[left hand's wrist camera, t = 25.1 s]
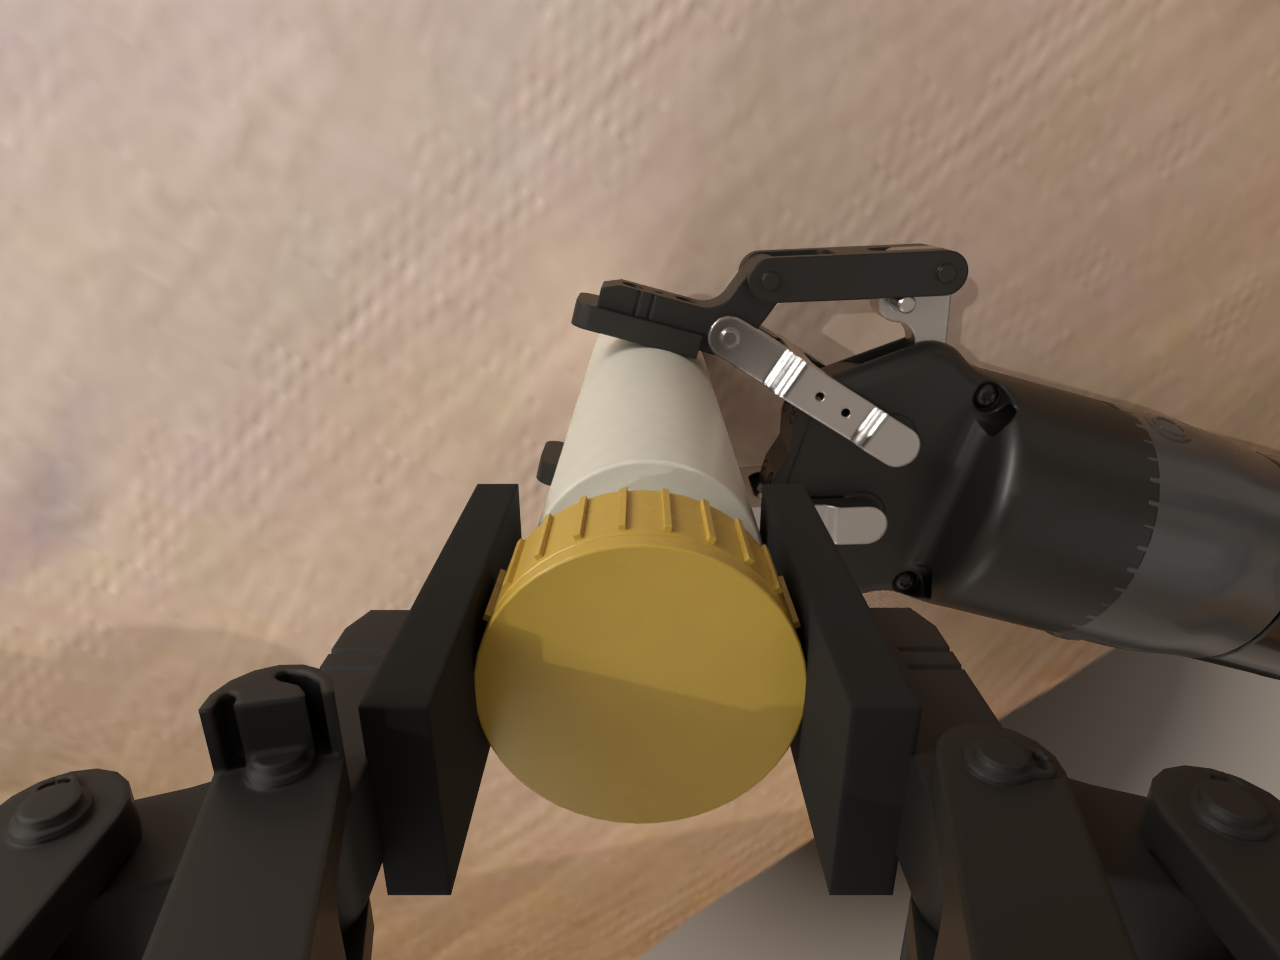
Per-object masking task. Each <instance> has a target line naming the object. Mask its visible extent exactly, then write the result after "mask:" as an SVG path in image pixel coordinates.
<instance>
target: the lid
mask: <svg viewBox="0 0 1280 960" xmlns="http://www.w3.org/2000/svg"><path fill="white" fill-rule="evenodd" d="M483 620H485V621H488V623H487V626H486V628H485V631H484V634H483V637H482V640H481V643H480V646H479V649H478V652H477V656H476V661H475V667H474V682H475V694H476V705H477V713H478V717H479V720H480V724H481V727H482V729H483V731H484V733H485V735H486V737H487V740H488V742H489V744H490V745H491V747H492V748H493V750H494V751H495V753H496V754H497V756H498V757H499V759H500V760H501V761H502V762H503V763H504V765H505V766H506V767H507V768H508V769H509V770H510V772H511V773H512V774H513V775H515V776H516V777H517V778H518V779H519V780H520V781H521V782H522V783H524V784H525V785H526V786H527V787H529V788H530V789H531V790H533V791H534V792H536V793H537V794H539V795H540V796H542V797H543V798H545V799H547V800H549V801H551V802H553V803H555V804H556V805H558V806H561V807H563V808H566V809H568V810H570V811H573V812H575V813H578V814H582V815H585V816H589V817H592V818H596V819H601V820H607V821H613V822H622V823H636V824H638V823H660V822H667V821H675V820H680V819H684V818H688V817H692V816H696V815H699V814H702V813H705V812H708V811H711V810H713V809H716V808H718V807H720V806H722V805H724V804H726V803H728V802H730V801H732V800H734V799H736V798H737V797H739V796H740V795H742V794H744V793H745V792H747V791H748V790H750V789H751V788H752V787H753V786H755V785H756V784H757V783H758V782H760V781H761V780H762V779H763V778H764V777H765V776H766V775H767V774H768V773H769V772H770V771H771V770H772V769H773V768H774V767H775V766H776V765H777V764H778V762H779V761H780V760H781V758H782V757H783V756H784V754H785V753H786V751H787V750H788V748H789V747H790V745H791V743H792V741H793V739H794V737H795V735H796V734H797V731H798V728H799V725H800V723H801V720H802V717H803V710H804V701H805V689H806V677H807V668H806V660H805V657H804V653H803V649H802V646H801V642H800V639H799V636H798V633H797V631H796V628H799V627H801V624H800V622H799V619H798V616H797V613H796V611H795V608H794V605H793V602H792V599H791V597H790V594H789V591H788V588H787V586H786V583H785V580H784V577H783V576H779V577H778V575H777V572H776V569H775V566H774V563H773V561H772V558H771V555H770V552H769V549H768V547H767V546H766V545H765V544H764V545H762V546H760V545H759V544H758V542H757V541H756V540H755V539H754V538H753V537H752V535H751V534H750V533H749V532H748V531H746V530H745V528H744V525H743V522H742V521H741V520H740V519H739V518H736V519H735V520H733V519H732V518H730V517H729V516H727V515H726V514H724V513H723V512H721V511H720V510H718V509H716V508H714V507H712V506H710V505H709V501H708V500H705V499H703V498H702V500H701V501H698V500H695V499H692V498H689V497H686V496H683V495H678V494H673V493H669V489H665V488H662V490H661V491H651V490H629V491H628V490H627V487H623V488H620V491H619V492H613V493H607V494H602V495H599V496H595V497H592V498H587V496H583V497H580V500H579V502H578V503H576V504H573V505H571V506H569V507H567V508H565V509H563V510H562V511H560V512H558V513H557V514H555V515H553V516H552V515H551V514H550V513H549V514H548V515H546V516H545V517H544V521H543V524H541V525H540V526H539V527H537V528H536V529H535V530H534V531H533V532H532V533H531V534H530V535H529V536H528V538H527V539H526V540H525V541H524V540H523V539H520V540H519V541H518V542H517V544H516V547H515V550H514V553H513V556H512V559H511V561H510V563H509V565H508V567H507V569H506V571H505V570H503V569H501V570H500V572H499V574H498V577H497V580H496V583H495V585H494V588H493V591H492V594H491V597H490V599H489V602H488V605H487V608H486V610H485V613H484V616H483Z"/></svg>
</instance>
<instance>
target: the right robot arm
mask: <svg viewBox="0 0 1280 960" xmlns="http://www.w3.org/2000/svg"><path fill="white" fill-rule="evenodd" d="M967 275H968V265H967V262H966V260H965V258H964V257H963V256H962V255H961V254H959V253H958V252H955V251H951V250H947V249H944V248H940V247H935V246H930V245H925V244H899V245H875V246H852V247H829V248H806V249H782V250H759V251H754V252H751V253H749V254H748V255H746V256H745V257H744V258H743V260H742V261H741V264H740V266H739V272H738V273H737V274H736V276H735V277H734V278H733V280H732V281H731V283H730V284H729V285H728V287H727V288H726V289H725V291H724V292H723V293H722V294H721V295H719V296H718V297H716V298H714V299H711V300H705V301H702V300H696V299H692V298H689V297H685V296H681V295H678V294H674V293H670V292H667V291H663V290H659V289H656V288H652V287H648V286H645V285H640V284H637V283H634V282H630V281H626V280H623V279H620V280H612V281H604V282H603V285H602V287H601V291H600V295H599V296H598V295H594V294H590V293H580V294H579V296H578V298H577V300H576V304H575V309H574V313H573V317H572V322H571V323H572V324H573V325H575V326H577V327H579V328H582V329H585V330H589V331H593V332H596V333H600V334H604V335H608V336H612V337H615V338H619V339H623V340H627V341H630V342H634V343H638V344H642V345H645V346H649V347H653V348H657V349H662V350H666V351H670V352H672V353H676V354H679V355H683V356H687V357H691V358H694V359H697V355H698V352H699V351H703V352H706V353H710V354H714V355H717V356H719V357H720V358H722V359H724V360H725V361H727V362H728V363H730V364H732V365H733V366H735V367H737V368H738V369H740V370H741V371H743V372H745V373H746V374H748V375H749V376H751V377H753V378H754V379H756V380H758V381H759V382H761V383H762V384H764V385H765V386H767V387H768V388H769V389H770V390H771V391H773V392H774V393H775V394H776V395H778V396H779V397H781V398H782V399H784V400H785V401H784V403H783V406H782V409H781V424H780V434H779V436H778V437H777V439H776V440H775V442H774V443H773V445H772V446H771V448H770V449H769V451H768V452H767V454H766V456H765V459H764V462H763V465H762V467H739V469H740V473H741V476H742V479H743V482H744V485H745V488H746V491H747V494H748V498H749V501H750V504H751V507H752V510H753V513H754V516H755V519H756V523H757V526H758V529H759V531H760V514H761V498H762V484H803V485H804V487H805V489H806V491H807V493H808V494H809V496H810V498H811V500H812V502H813V504H814V506H815V507H816V509H817V511H818V513H819V515H820V517H821V519H822V521H823V522H824V524H825V526H826V528H827V530H828V532H829V534H830V535H831V537H832V539H833V541H834V543H835V545H836V547H837V549H838V550H839V552H840V554H841V556H842V558H843V560H844V562H845V563H846V565H847V567H848V569H849V571H850V573H851V575H852V577H853V578H854V580H855V582H856V584H857V586H858V588H859V590H860V591H861V593H866V592H870V591H877V590H891V591H896V592H899V593H902V594H905V595H907V596H910V597H913V598H916V599H918V600H921V601H925V602H928V603H932V604H936V605H940V606H944V607H948V608H953V609H957V610H961V611H965V612H969V613H973V614H978V615H982V616H986V617H990V618H994V619H998V620H1002V621H1007V622H1010V623H1014V624H1018V625H1022V626H1027V627H1031V628H1035V629H1039V630H1043V631H1045V632H1047V633H1049V634H1051V635H1054V636H1057V637H1060V638H1063V639H1067V640H1071V639H1072V640H1085V641H1089V642H1093V643H1097V644H1101V645H1105V646H1110V647H1115V648H1120V649H1126V650H1132V651H1140V652H1151V653H1164V654H1172V655H1179V656H1184V657H1189V658H1194V659H1198V660H1202V661H1206V662H1210V663H1214V664H1218V665H1222V666H1226V667H1230V668H1234V669H1238V670H1243V671H1247V672H1251V673H1255V674H1258V675H1261V676H1265V677H1269V678H1273V679H1278V680H1280V458H1277V457H1274V456H1270V455H1266V454H1263V453H1259V452H1254V451H1251V450H1249V449H1245V448H1242V447H1239V446H1237V445H1235V444H1232V443H1230V442H1228V441H1226V440H1224V439H1222V438H1220V437H1217V436H1215V435H1212V434H1210V433H1208V432H1205V431H1203V430H1200V429H1198V428H1195V427H1192V426H1189V425H1186V424H1183V423H1180V422H1176V421H1173V420H1169V419H1166V418H1163V417H1159V416H1154V415H1150V414H1147V413H1143V412H1139V411H1136V410H1132V409H1128V408H1124V407H1121V406H1117V405H1114V404H1110V403H1107V402H1103V401H1099V400H1096V399H1092V398H1088V397H1085V396H1081V395H1077V394H1074V393H1070V392H1066V391H1063V390H1059V389H1055V388H1052V387H1048V386H1044V385H1041V384H1037V383H1033V382H1030V381H1026V380H1022V379H1019V378H1015V377H1011V376H1008V375H1004V374H1000V373H997V372H993V371H989V370H985V369H982V368H978V367H975V366H973V365H971V364H969V363H968V362H967V361H966V360H965V359H964V358H963V357H962V355H961V354H960V353H959V352H958V351H957V350H956V349H955V348H953V347H952V346H950V345H948V344H946V339H947V329H948V319H949V309H950V299H951V294H953V293H955V292H956V291H958V290H959V289H960V288H961V287H962V286H963V284H964V283H965V281H966V279H967ZM858 299H870V305H871V307H872V309H873V310H874V311H875V312H876V313H877V314H879V315H880V316H882V317H884V318H885V319H887V320H889V321H892V322H900V323H901V324H902V326H903V327H904V330H905V337H904V338H901V339H899V340H896V341H893V342H890V343H888V344H885V345H882V346H879V347H877V348H874V349H871V350H869V351H866V352H863V353H860V354H858V355H855V356H852V357H849V358H847V359H844V360H841V361H838V362H836V363H833V364H830V365H826V364H825V363H823V362H822V361H820V360H818V359H817V358H815V357H814V356H812V355H811V354H809V353H807V352H806V351H804V350H803V349H801V348H800V347H798V346H796V345H795V344H793V343H792V342H790V341H789V340H787V339H785V338H784V337H782V336H780V335H777V334H776V333H774V332H772V331H771V330H769V329H768V328H766V327H764V326H763V325H761V324H762V323H763V321H764V320H765V319H766V317H767V316H768V315H769V313H770V312H771V311H772V309H773V308H774V307H775V305H776V304H777V303H785V302H810V301H834V300H858ZM563 446H564V442H559V441H549V442H547V443H546V444H545V447H544V450H543V452H542V455H541V459H540V463H539V467H538V472H537V476H536V477H537V479H538V480H539V481H540V482H542V483H544V484H546V485H550V486H551V484H552V481H553V477H554V474H555V471H556V468H557V465H558V462H559V458H560V455H561V452H562V449H563ZM759 485H761V486H759Z"/></svg>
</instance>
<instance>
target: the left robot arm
mask: <svg viewBox="0 0 1280 960" xmlns="http://www.w3.org/2000/svg"><path fill="white" fill-rule="evenodd" d="M759 532H760V536H761V539H762V543H763V545H764V544H765V545H766V546H767V547H768V549H769V552H770V555H771V558H772V561H773V563H774V566H775V569H776V572H777V575H778V577H779V576H783V577H784V580H785V583H786V586H787V588H788V591H789V594H790V597H791V599H792V602H793V605H794V608H795V611H796V613H797V616H798V619H799V622H800V624H801V627H799V628H796V631H797V633H798V636H799V639H800V642H801V646H802V649H803V653H804V657H805V660H806V668H807V677H806V689H805V701H804V710H803V717H802V720H801V723H800V725H799V728H798V731H797V734H796V735H795V737H794V739H793V741H792V743H791V745H790V747H791V751H792V755H793V758H794V762H795V766H796V770H797V774H798V777H799V781H800V785H801V789H802V792H803V796H804V800H805V804H806V808H807V811H808V815H809V819H810V823H811V826H812V830H813V834H814V838H815V842H816V845H817V849H818V853H819V857H820V860H821V864H822V868H823V872H824V875H825V879H826V883H827V887H828V891H829V894H830V895H893V890H894V884H895V877H896V871H897V865H898V859H899V862H900V865H901V867H902V870H903V872H904V875H905V878H906V880H907V883H908V886H909V888H910V891H911V898H910V904H909V910H908V915H907V921H906V927H905V933H904V939H903V944H902V950H901V956H900V960H1280V800H1278V799H1277V798H1276V797H1274V796H1273V795H1272V794H1270V793H1269V792H1267V791H1265V790H1263V789H1261V788H1259V787H1257V786H1255V785H1253V784H1251V783H1249V782H1247V781H1245V780H1243V779H1241V778H1239V777H1236V776H1233V775H1231V774H1226V773H1224V772H1220V771H1217V770H1214V769H1210V768H1202V767H1194V766H1185V765H1184V766H1179V767H1172V768H1167V769H1164V770H1162V771H1161V772H1160V773H1159V774H1158V775H1157V776H1155V777H1154V778H1153V780H1152V783H1151V787H1150V790H1149V793H1148V796H1147V797H1143V796H1139V795H1135V794H1130V793H1126V792H1121V791H1117V790H1112V789H1108V788H1103V787H1099V786H1094V785H1090V784H1087V783H1083V782H1080V781H1076V780H1073V779H1070V778H1068V777H1067V775H1066V772H1065V771H1064V769H1063V768H1062V766H1061V765H1060V763H1059V762H1058V760H1057V759H1056V757H1055V756H1054V755H1053V754H1051V753H1050V752H1049V751H1048V750H1046V749H1045V748H1044V747H1043V746H1041V745H1040V744H1039V743H1037V742H1036V741H1034V740H1032V739H1030V738H1028V737H1026V736H1024V735H1022V734H1020V733H1018V732H1016V731H1013V730H1010V729H1006V728H1003V727H1002V726H1001V724H1000V723H999V721H998V720H997V718H996V717H995V715H994V714H993V712H992V711H991V709H990V708H989V706H988V705H987V703H986V702H985V700H984V699H983V697H982V696H981V694H980V693H979V691H978V690H977V688H976V687H975V685H974V684H973V682H972V681H971V679H970V678H969V676H968V674H967V673H966V671H965V670H962V669H961V664H960V662H959V661H958V659H957V658H956V656H955V655H954V653H953V652H950V650H949V646H948V644H947V643H946V641H945V640H944V638H943V637H942V635H941V634H940V632H939V631H938V629H937V628H936V626H935V625H933V624H932V623H930V622H929V621H928V620H926V619H925V618H923V617H922V616H921V615H919V614H918V613H916V612H915V611H913V610H912V609H911V608H869V606H868V605H867V603H866V601H865V599H864V597H863V595H862V593H861V591H860V590H859V588H858V586H857V584H856V582H855V580H854V578H853V577H852V575H851V573H850V571H849V569H848V567H847V565H846V563H845V562H844V560H843V558H842V556H841V554H840V552H839V550H838V549H837V547H836V545H835V543H834V541H833V539H832V537H831V535H830V534H829V532H828V530H827V528H826V526H825V524H824V522H823V521H822V519H821V517H820V515H819V513H818V511H817V509H816V507H815V506H814V504H813V502H812V500H811V498H810V496H809V494H808V493H807V491H806V489H805V487H804V485H803V484H762V498H761V514H760V531H759ZM520 539H522V538H521V522H520V505H519V489H518V484H477V486H476V488H475V490H474V492H473V494H472V495H471V497H470V499H469V501H468V503H467V505H466V507H465V509H464V510H463V512H462V514H461V516H460V518H459V520H458V522H457V523H456V525H455V527H454V529H453V531H452V533H451V535H450V537H449V538H448V540H447V542H446V544H445V546H444V548H443V550H442V551H441V553H440V555H439V557H438V559H437V561H436V563H435V565H434V566H433V568H432V570H431V572H430V574H429V576H428V578H427V579H426V581H425V583H424V585H423V587H422V589H421V591H420V593H419V594H418V596H417V598H416V600H415V602H414V604H413V606H412V607H411V609H410V610H371V611H369V612H368V613H367V614H365V615H364V616H362V617H361V618H360V619H358V620H357V621H355V622H354V623H353V624H351V625H350V626H348V627H347V628H346V629H345V630H344V632H343V633H342V635H341V636H340V638H339V639H338V641H337V642H336V644H335V645H334V647H333V648H332V652H331V654H328V656H327V657H326V659H325V660H324V662H323V664H322V665H321V667H320V669H318V668H314V667H310V666H306V665H278V666H273V667H269V668H264V669H260V670H255V671H252V672H250V673H248V674H245V675H243V676H241V677H238V678H236V679H233V680H231V681H229V682H228V683H226V684H225V685H224V686H222V687H221V688H219V689H218V690H216V691H215V692H213V693H212V694H211V695H210V696H209V697H208V698H207V700H206V701H205V702H204V704H203V705H202V706H201V707H200V709H199V714H200V718H201V722H202V726H203V730H204V734H205V738H206V742H207V746H208V750H209V754H210V758H211V762H212V766H213V770H214V776H213V778H212V781H211V782H208V783H205V784H202V785H198V786H195V787H191V788H187V789H183V790H178V791H174V792H169V793H165V794H160V795H156V796H151V797H147V798H142V799H138V800H134V797H133V794H132V791H131V787H130V784H129V782H128V781H127V780H126V779H125V778H124V777H123V776H121V775H120V774H119V773H118V772H114V771H108V770H102V769H90V770H81V771H73V772H68V773H65V774H62V775H58V776H56V777H52V778H49V779H47V780H44V781H41V782H39V783H37V784H35V785H33V786H31V787H29V788H27V789H25V790H23V791H21V792H19V793H17V794H16V795H14V796H12V797H11V798H9V799H8V800H7V801H5V802H4V803H3V804H1V805H0V960H371V954H372V944H373V933H374V923H373V916H372V909H371V904H370V898H369V896H370V894H371V891H372V888H373V886H374V883H375V880H376V878H377V875H378V872H379V870H380V867H381V864H382V862H383V868H384V874H385V881H386V887H387V893H388V895H451V893H452V889H453V885H454V881H455V877H456V874H457V870H458V866H459V862H460V859H461V855H462V851H463V847H464V843H465V840H466V836H467V832H468V828H469V825H470V821H471V817H472V813H473V809H474V806H475V802H476V798H477V794H478V791H479V787H480V783H481V779H482V775H483V772H484V768H485V764H486V760H487V757H488V753H489V749H490V744H489V742H488V740H487V737H486V735H485V733H484V731H483V729H482V727H481V724H480V720H479V717H478V713H477V705H476V694H475V682H474V667H475V661H476V656H477V652H478V649H479V646H480V643H481V640H482V637H483V634H484V631H485V628H486V626H487V623H488V621H485V620H483V616H484V613H485V610H486V608H487V605H488V602H489V599H490V597H491V594H492V591H493V588H494V585H495V583H496V580H497V577H498V574H499V572H500V570H501V569H503V570H505V571H506V569H507V567H508V565H509V563H510V561H511V559H512V556H513V553H514V550H515V547H516V544H517V542H518V541H519V540H520Z"/></svg>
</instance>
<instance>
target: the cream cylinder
mask: <svg viewBox="0 0 1280 960" xmlns="http://www.w3.org/2000/svg"><path fill="white" fill-rule="evenodd" d="M623 487H627V490H628V491H629V490H651V491H661V490H662V488H665V489H669V493H673V494H678V495H683V496H686V497H689V498H692V499H695V500H698V501H701V500H702V498H703V499H705V500H708V501H709V505H710V506H712V507H714V508H716V509H718V510H720V511H721V512H723V513H724V514H726V515H727V516H729V517H730V518H732V519H733V520H735V519H736V518H739V519H740V520H741V521H742V522H743V525H744V528H745V530H746V531H748V532H749V533H750V534H751V535H752V537H753V538H754V539H755V540H756V541H757V542H758V544H759V545H760V546H762V545H763V543H762V539H761V536H760V532H759V529H758V526H757V523H756V519H755V516H754V513H753V510H752V507H751V504H750V501H749V498H748V494H747V491H746V488H745V485H744V482H743V479H742V476H741V473H740V469H739V466H738V463H737V460H736V457H735V454H734V451H733V448H732V444H731V441H730V438H729V435H728V432H727V429H726V426H725V423H724V419H723V416H722V413H721V410H720V407H719V404H718V401H717V398H716V395H715V391H714V388H713V385H712V382H711V379H710V376H709V373H708V370H707V366H706V363H705V360H704V357H703V354H702V351H699V352H698V355H697V359H694V358H691V357H687V356H683V355H679V354H676V353H672V352H670V351H666V350H662V349H657V348H653V347H649V346H645V345H642V344H638V343H634V342H630V341H627V340H623V339H619V338H615V337H612V336H608V335H604V334H599V336H598V338H597V341H596V344H595V346H594V350H593V353H592V356H591V359H590V362H589V366H588V369H587V372H586V375H585V378H584V382H583V385H582V388H581V391H580V394H579V398H578V401H577V404H576V407H575V410H574V414H573V417H572V420H571V423H570V426H569V430H568V433H567V436H566V439H565V442H564V446H563V449H562V452H561V455H560V458H559V462H558V465H557V468H556V471H555V474H554V477H553V481H552V484H551V487H550V490H549V493H548V497H547V500H546V503H545V506H544V509H543V513H542V516H541V519H540V522H539V525H538V527H539V526H540V525H541V524H543V521H544V517H545V516H546V515H548V514H549V513H550V514H551V515H552V516H553V515H555V514H557V513H558V512H560V511H562V510H563V509H565V508H567V507H569V506H571V505H573V504H576V503H578V502H579V500H580V497H583V496H587V498H592V497H595V496H599V495H602V494H607V493H613V492H619V491H620V488H623Z"/></svg>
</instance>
